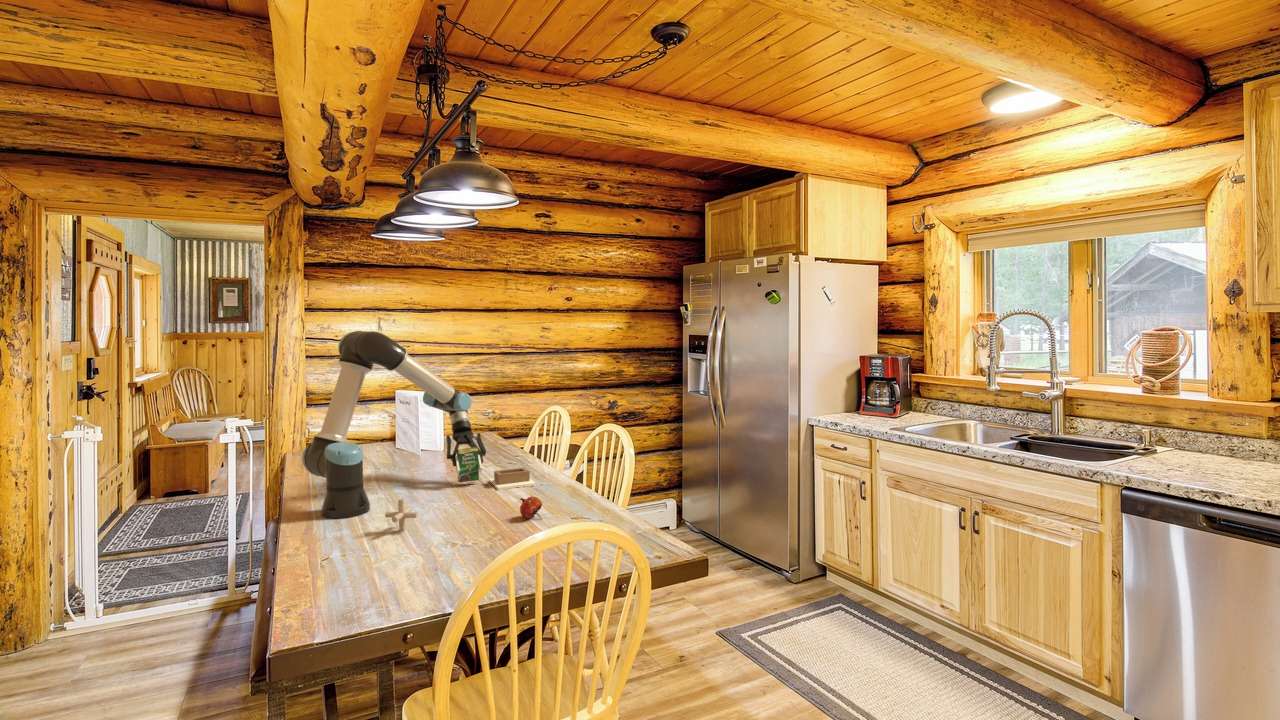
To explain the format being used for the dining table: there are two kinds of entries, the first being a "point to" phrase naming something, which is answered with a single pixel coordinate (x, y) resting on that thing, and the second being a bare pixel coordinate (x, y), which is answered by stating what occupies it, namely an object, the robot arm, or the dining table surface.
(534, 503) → the pomegranate
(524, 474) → the socket board
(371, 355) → the robot arm
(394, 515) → the pipe connector
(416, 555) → the dining table surface
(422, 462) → the dining table surface
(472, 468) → the coffee box
